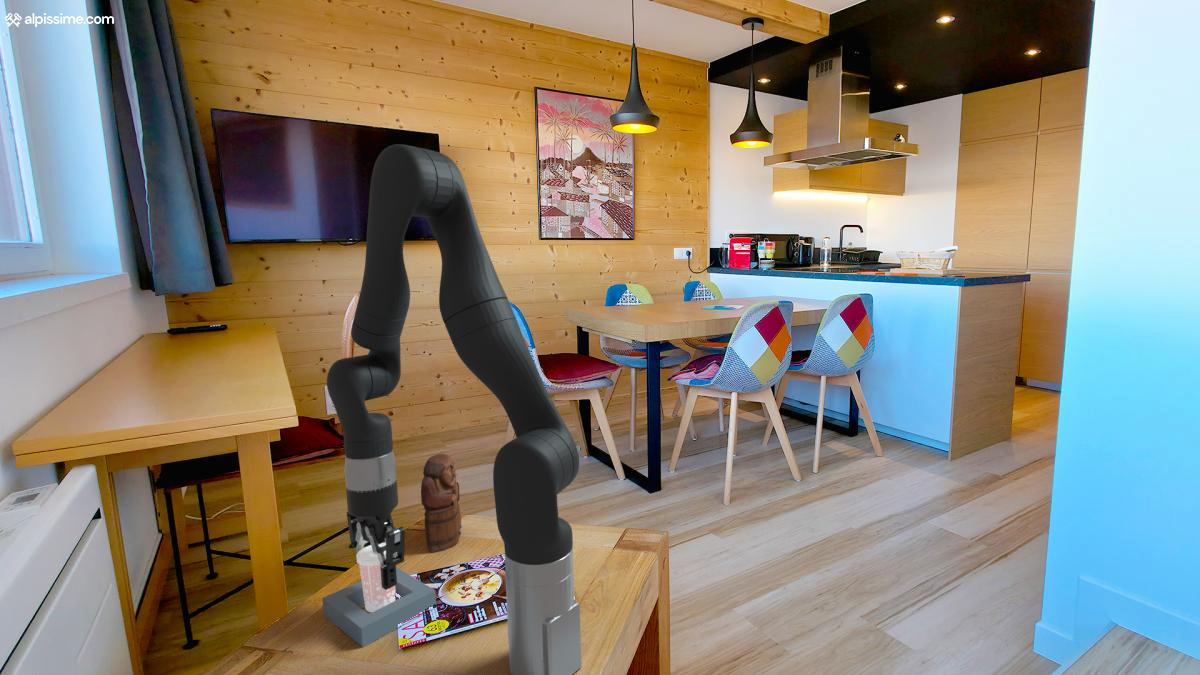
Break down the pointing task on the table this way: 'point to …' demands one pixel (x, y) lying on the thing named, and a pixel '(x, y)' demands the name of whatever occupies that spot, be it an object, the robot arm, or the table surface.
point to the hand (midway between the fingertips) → (378, 579)
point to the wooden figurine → (441, 503)
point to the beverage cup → (373, 580)
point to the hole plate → (377, 624)
